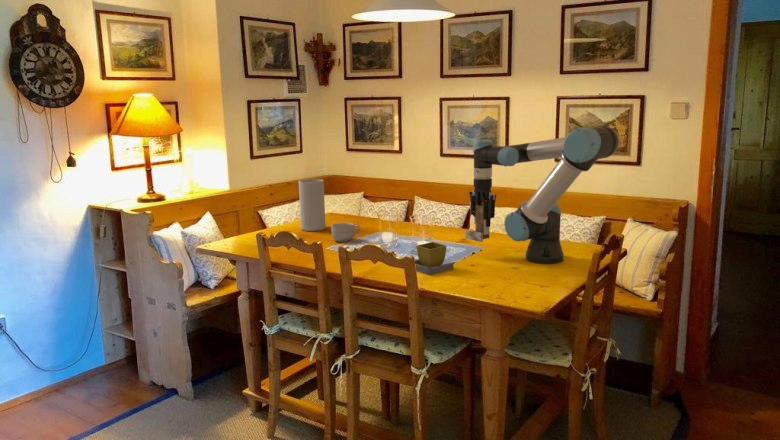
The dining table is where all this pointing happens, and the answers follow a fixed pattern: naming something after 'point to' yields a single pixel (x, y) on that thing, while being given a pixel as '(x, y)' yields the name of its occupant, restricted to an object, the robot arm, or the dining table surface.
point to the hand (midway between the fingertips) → (482, 233)
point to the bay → (433, 268)
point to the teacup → (344, 231)
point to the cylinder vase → (312, 204)
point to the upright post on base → (478, 226)
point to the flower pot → (431, 254)
